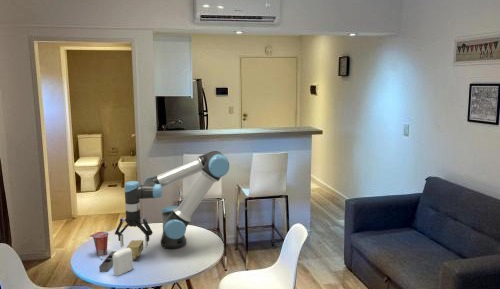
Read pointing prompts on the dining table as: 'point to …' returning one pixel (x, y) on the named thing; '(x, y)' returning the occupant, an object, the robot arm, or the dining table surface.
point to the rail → (107, 263)
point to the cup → (100, 242)
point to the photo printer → (122, 261)
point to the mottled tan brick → (136, 248)
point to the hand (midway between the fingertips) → (134, 246)
